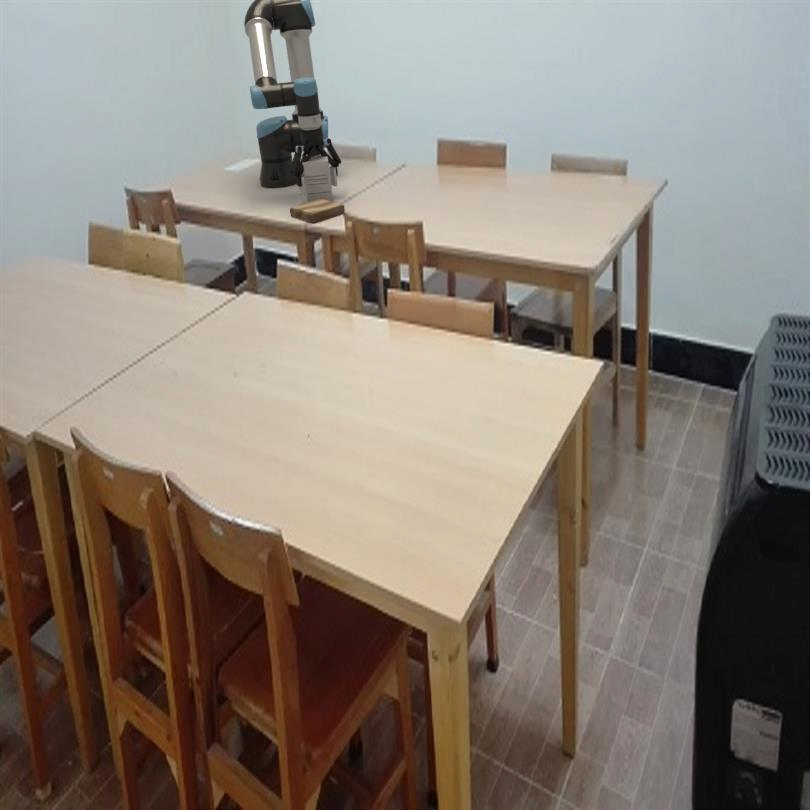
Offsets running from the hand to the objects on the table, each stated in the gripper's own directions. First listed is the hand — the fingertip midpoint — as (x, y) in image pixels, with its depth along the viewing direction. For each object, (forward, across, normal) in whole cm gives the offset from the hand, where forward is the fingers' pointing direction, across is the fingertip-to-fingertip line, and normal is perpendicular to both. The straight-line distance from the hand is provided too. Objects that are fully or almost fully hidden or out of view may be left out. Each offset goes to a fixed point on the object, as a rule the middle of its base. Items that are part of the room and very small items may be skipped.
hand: (319, 190), depth 284 cm
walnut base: (+4, -10, -12) cm, 16 cm away
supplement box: (+4, 0, 0) cm, 4 cm away
